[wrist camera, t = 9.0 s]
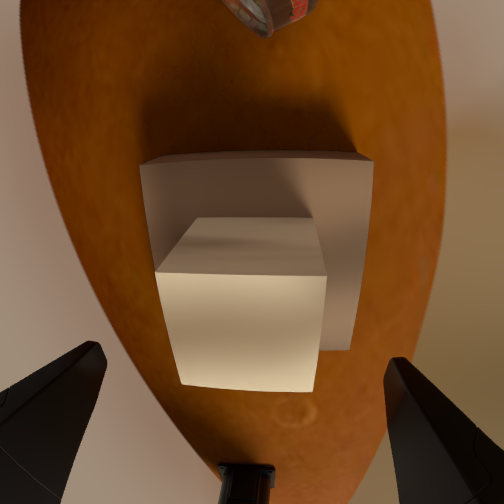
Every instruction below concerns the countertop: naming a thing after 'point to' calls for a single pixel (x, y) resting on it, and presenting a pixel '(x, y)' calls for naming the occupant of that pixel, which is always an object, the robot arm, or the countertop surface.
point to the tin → (269, 13)
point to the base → (272, 210)
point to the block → (245, 303)
